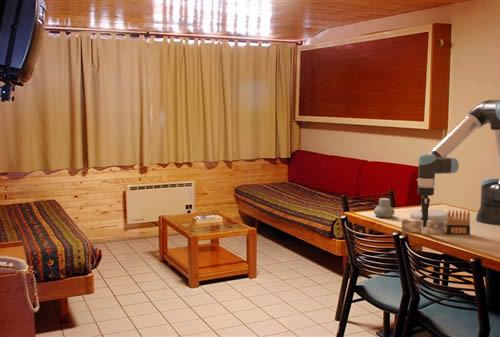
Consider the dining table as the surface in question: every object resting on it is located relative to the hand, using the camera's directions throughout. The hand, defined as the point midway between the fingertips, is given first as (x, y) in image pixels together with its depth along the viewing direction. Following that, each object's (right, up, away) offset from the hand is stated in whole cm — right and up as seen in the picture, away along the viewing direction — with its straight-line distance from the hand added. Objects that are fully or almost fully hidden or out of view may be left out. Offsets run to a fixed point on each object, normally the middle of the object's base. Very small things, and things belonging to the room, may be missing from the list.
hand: (423, 230), depth 263 cm
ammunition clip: (+15, -2, -4) cm, 15 cm away
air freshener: (-11, +3, +35) cm, 37 cm away
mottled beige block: (0, -1, 0) cm, 1 cm away
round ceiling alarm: (+10, +1, +22) cm, 24 cm away
